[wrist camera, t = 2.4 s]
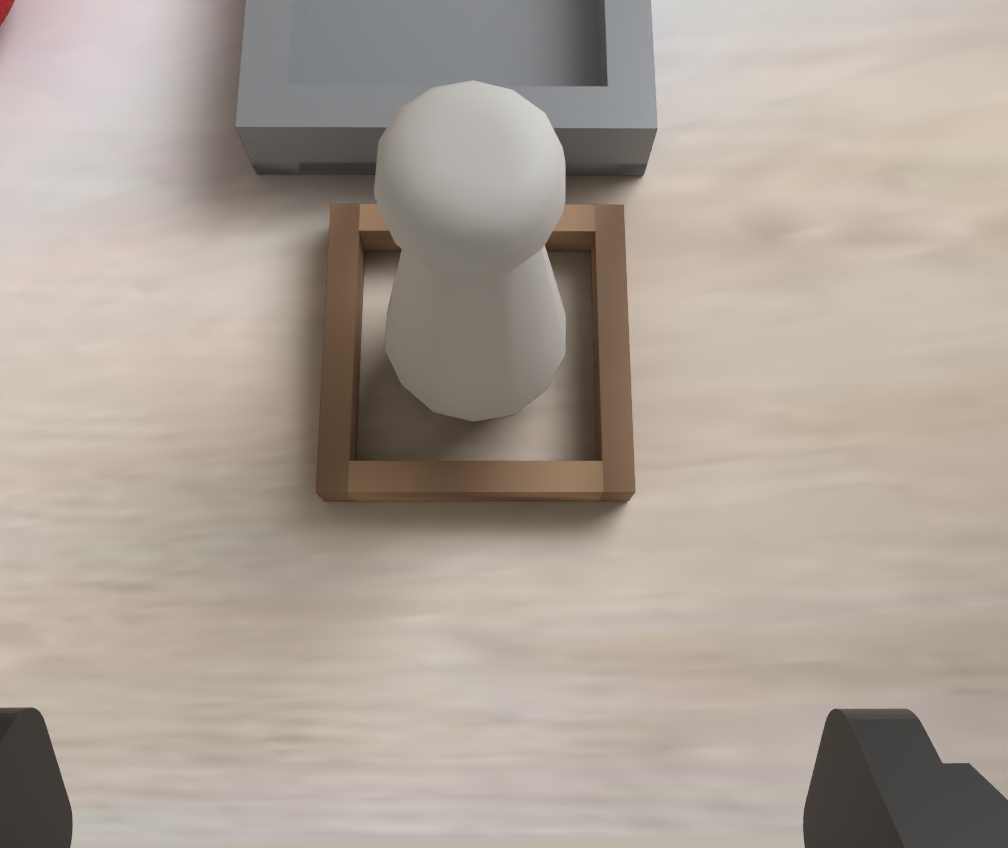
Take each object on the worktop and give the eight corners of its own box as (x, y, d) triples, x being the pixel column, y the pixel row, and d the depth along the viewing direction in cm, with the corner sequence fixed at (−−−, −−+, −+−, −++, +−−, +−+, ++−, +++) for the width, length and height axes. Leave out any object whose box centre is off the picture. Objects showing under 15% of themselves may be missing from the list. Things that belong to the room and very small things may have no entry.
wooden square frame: (617, 225, 34) (623, 204, 32) (628, 500, 31) (635, 491, 30) (337, 224, 34) (330, 203, 32) (324, 501, 31) (315, 491, 30)
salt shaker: (457, 472, 31) (434, 329, 19) (359, 342, 33) (276, 125, 20) (596, 372, 32) (661, 173, 20) (495, 249, 34) (497, -12, 21)
